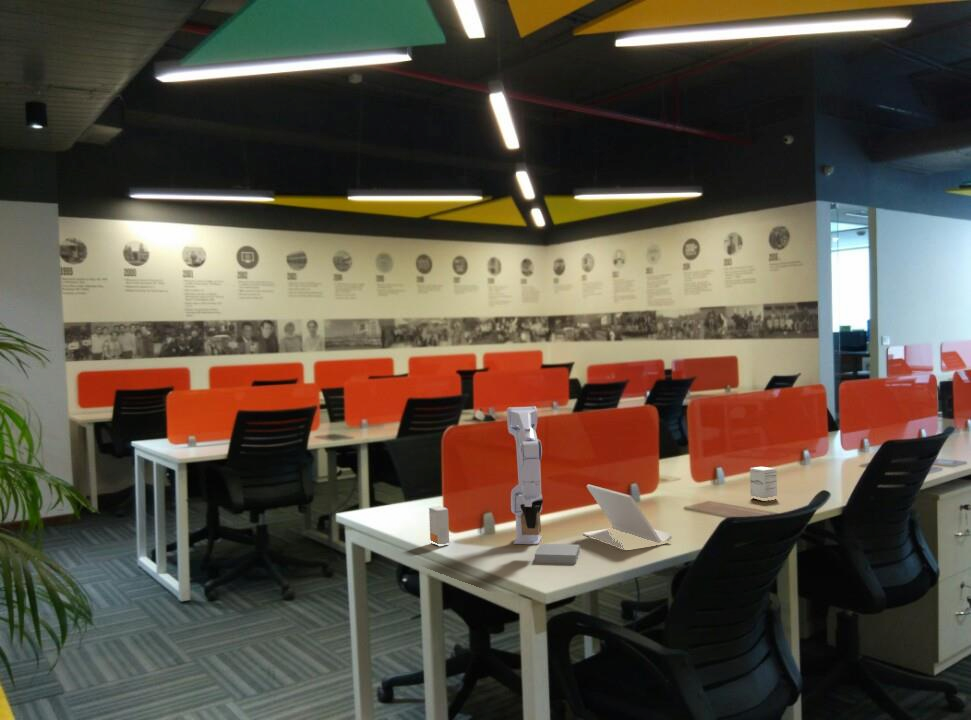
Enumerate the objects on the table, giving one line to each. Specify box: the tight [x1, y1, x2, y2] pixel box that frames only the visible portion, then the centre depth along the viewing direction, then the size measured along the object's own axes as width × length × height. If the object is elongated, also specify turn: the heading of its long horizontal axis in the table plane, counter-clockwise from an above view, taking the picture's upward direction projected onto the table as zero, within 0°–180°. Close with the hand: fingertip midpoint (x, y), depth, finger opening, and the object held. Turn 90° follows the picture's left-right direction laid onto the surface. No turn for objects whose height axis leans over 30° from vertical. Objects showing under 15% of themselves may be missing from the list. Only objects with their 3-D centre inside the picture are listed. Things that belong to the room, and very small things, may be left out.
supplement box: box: [749, 466, 778, 498], centre depth 301 cm, size 7×7×13 cm
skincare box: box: [428, 505, 450, 544], centre depth 249 cm, size 6×4×12 cm
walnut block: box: [521, 511, 542, 536], centre depth 230 cm, size 5×5×6 cm
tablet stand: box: [582, 483, 673, 549], centre depth 248 cm, size 18×25×17 cm
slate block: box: [534, 543, 581, 565], centre depth 229 cm, size 12×12×3 cm
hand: (532, 525), depth 230 cm, fingers closed on walnut block, 5 cm apart
